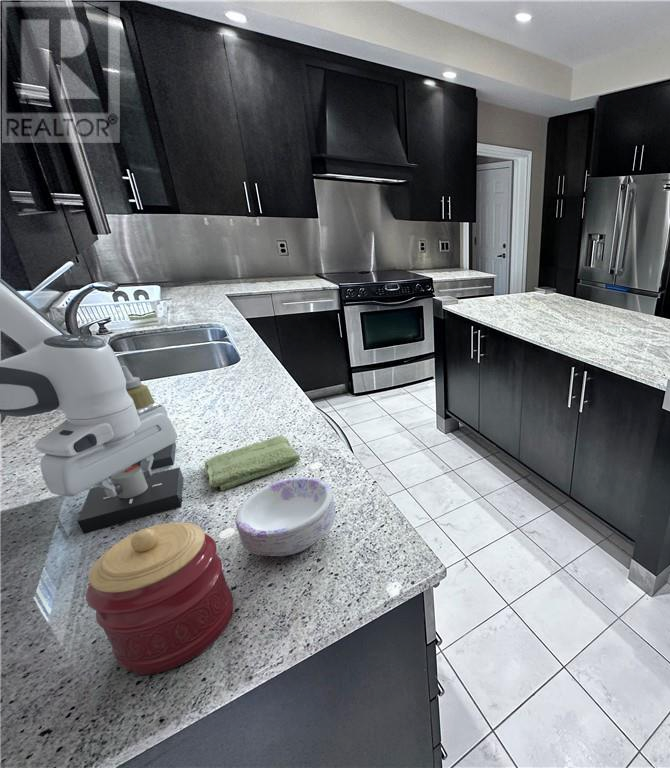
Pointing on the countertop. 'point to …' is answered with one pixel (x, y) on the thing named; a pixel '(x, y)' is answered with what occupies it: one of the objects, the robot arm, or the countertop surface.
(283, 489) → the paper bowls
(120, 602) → the kitchen canister
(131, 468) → the timer dial
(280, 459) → the washcloth
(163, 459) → the button block
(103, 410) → the robot arm
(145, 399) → the squeeze bottle
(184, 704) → the countertop surface
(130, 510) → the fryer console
